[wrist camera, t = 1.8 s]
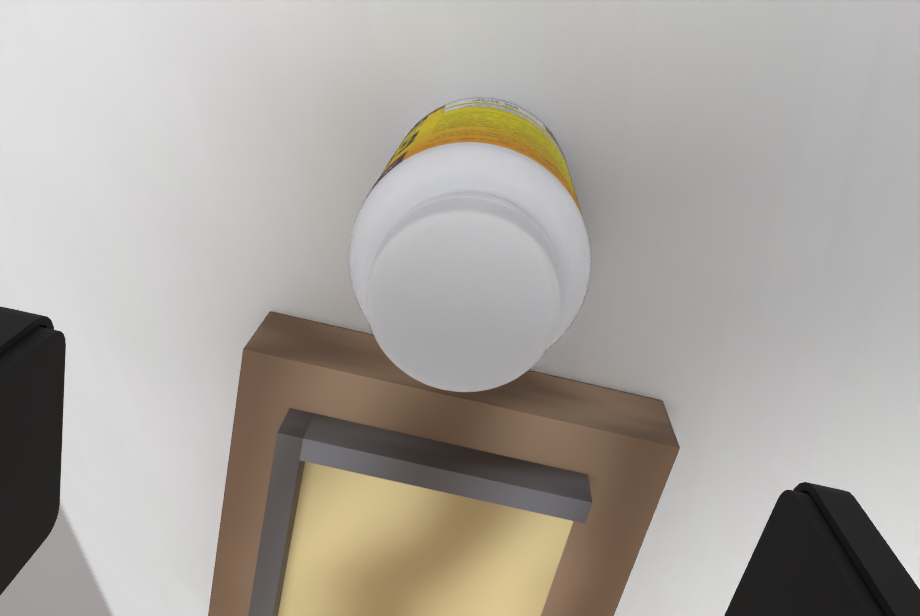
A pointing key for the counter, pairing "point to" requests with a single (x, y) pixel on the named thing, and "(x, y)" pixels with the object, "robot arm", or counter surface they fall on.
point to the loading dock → (427, 487)
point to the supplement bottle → (471, 247)
